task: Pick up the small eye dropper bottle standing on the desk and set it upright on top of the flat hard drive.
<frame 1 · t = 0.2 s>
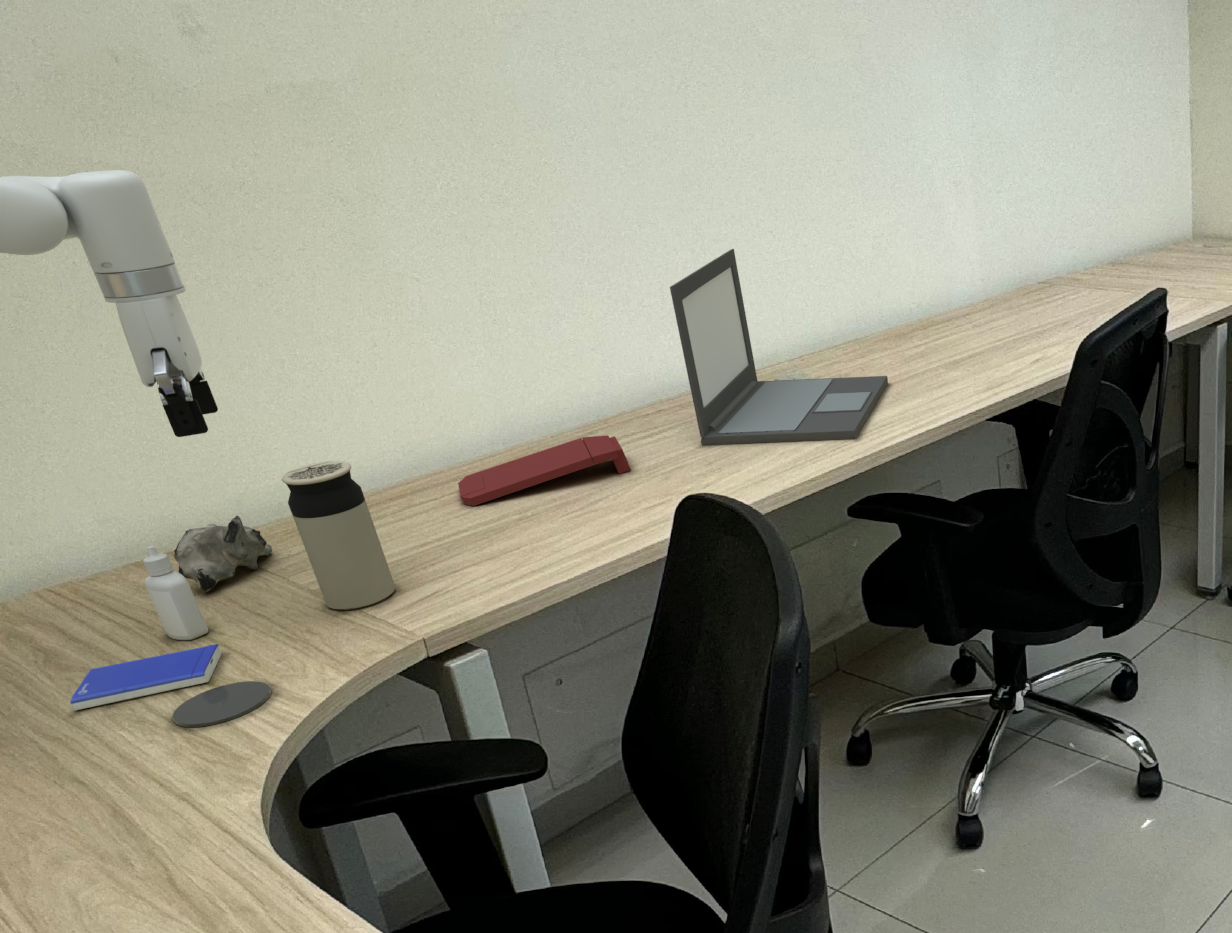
hand: (198, 423, 140), 25 cm above the table, tool pointing down, fingers open, 9 cm apart
eye dropper bottle: (188, 634, 144), on the table
travel mug: (362, 599, 152), on the table
decorative stone: (234, 574, 161), on the table
red hooked bar: (547, 481, 190), on the table
laptop: (801, 413, 219), on the table
slate coaster: (223, 705, 128), on the table
hard drive: (152, 682, 134), on the table
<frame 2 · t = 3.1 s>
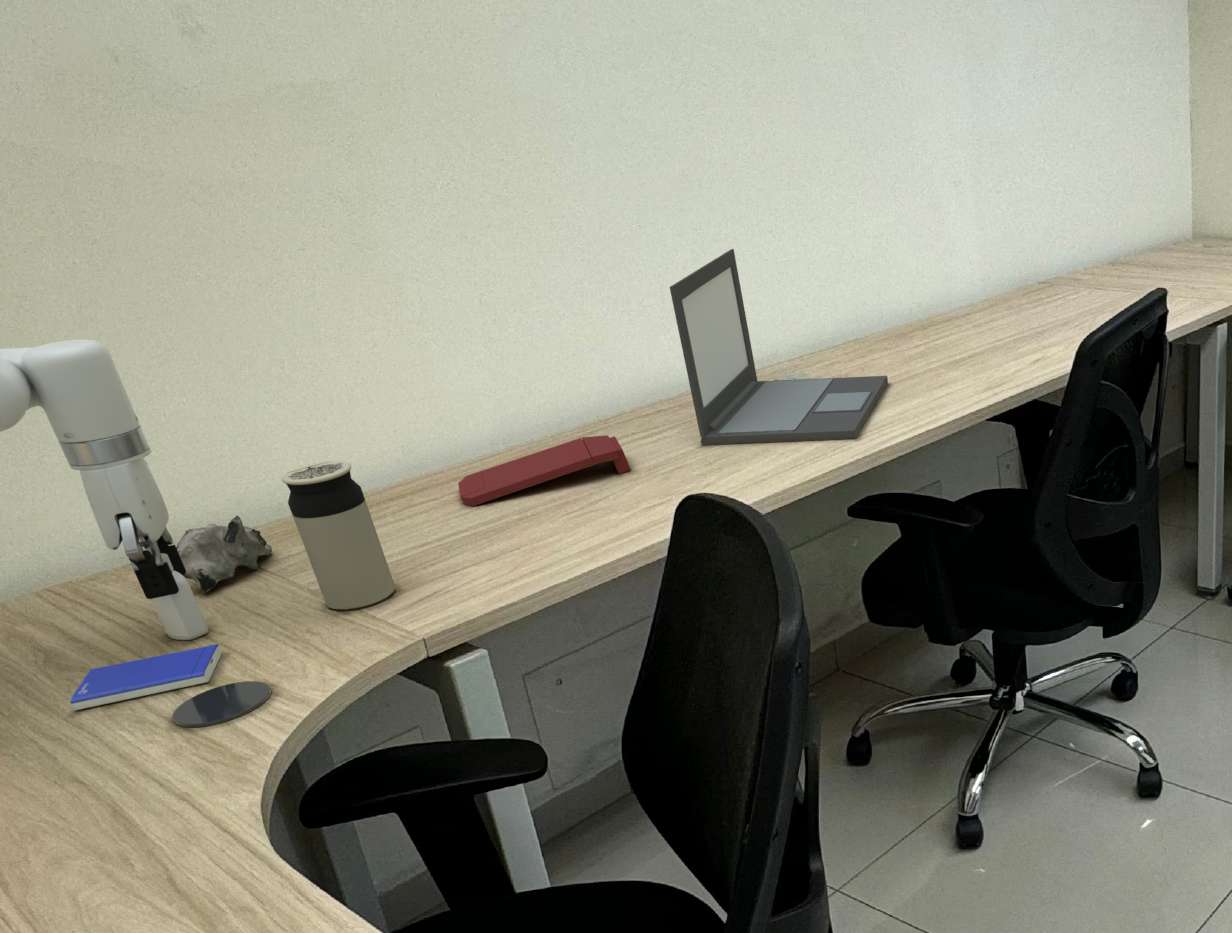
hand: (167, 584, 141), 7 cm above the table, tool pointing down, fingers closed on eye dropper bottle, 5 cm apart
eye dropper bottle: (189, 634, 144), on the table, touching gripper
everything else where it was.
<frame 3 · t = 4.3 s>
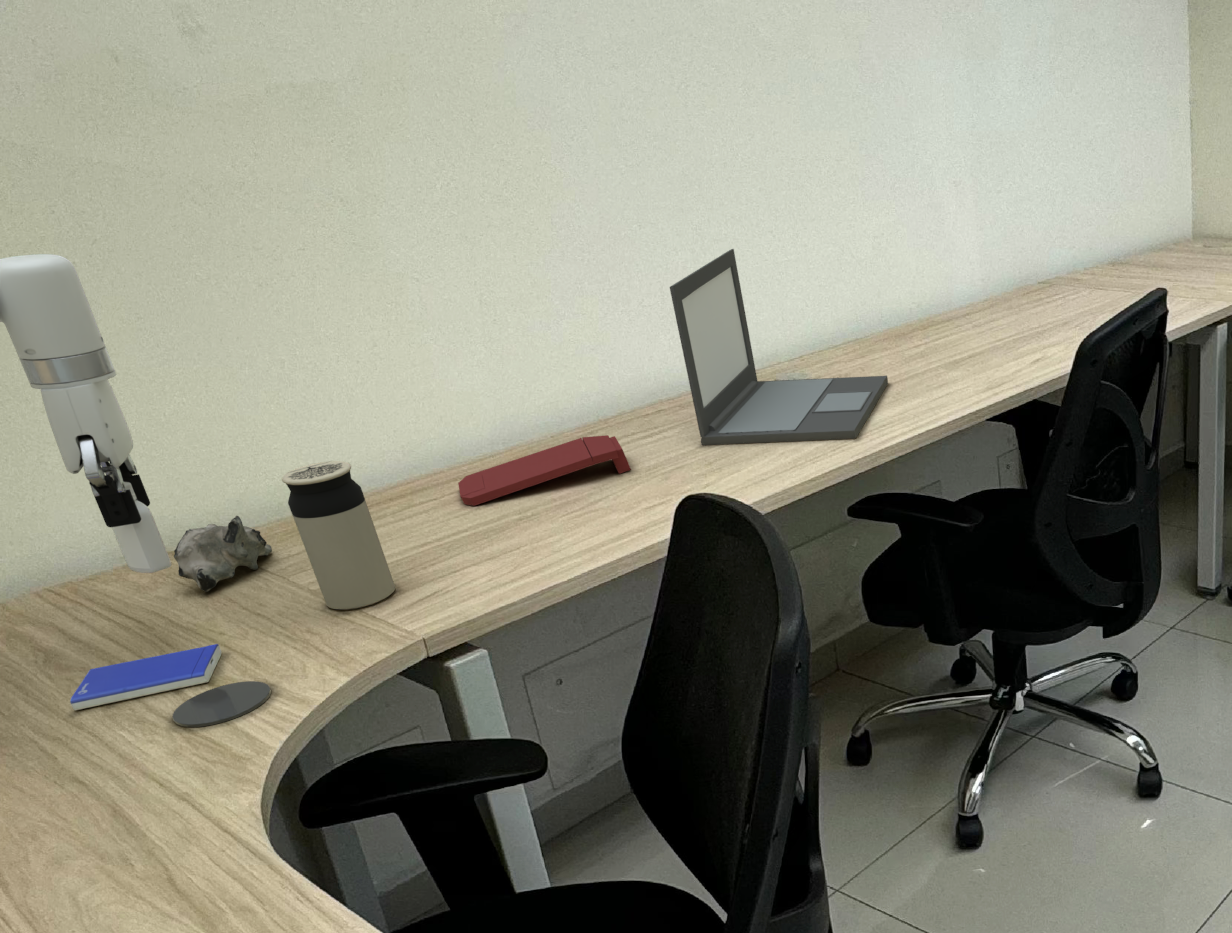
hand: (129, 514, 137), 16 cm above the table, tool pointing down, fingers closed on eye dropper bottle, 5 cm apart
eye dropper bottle: (151, 568, 140), point 9 cm above the table, touching gripper
everything else where it was.
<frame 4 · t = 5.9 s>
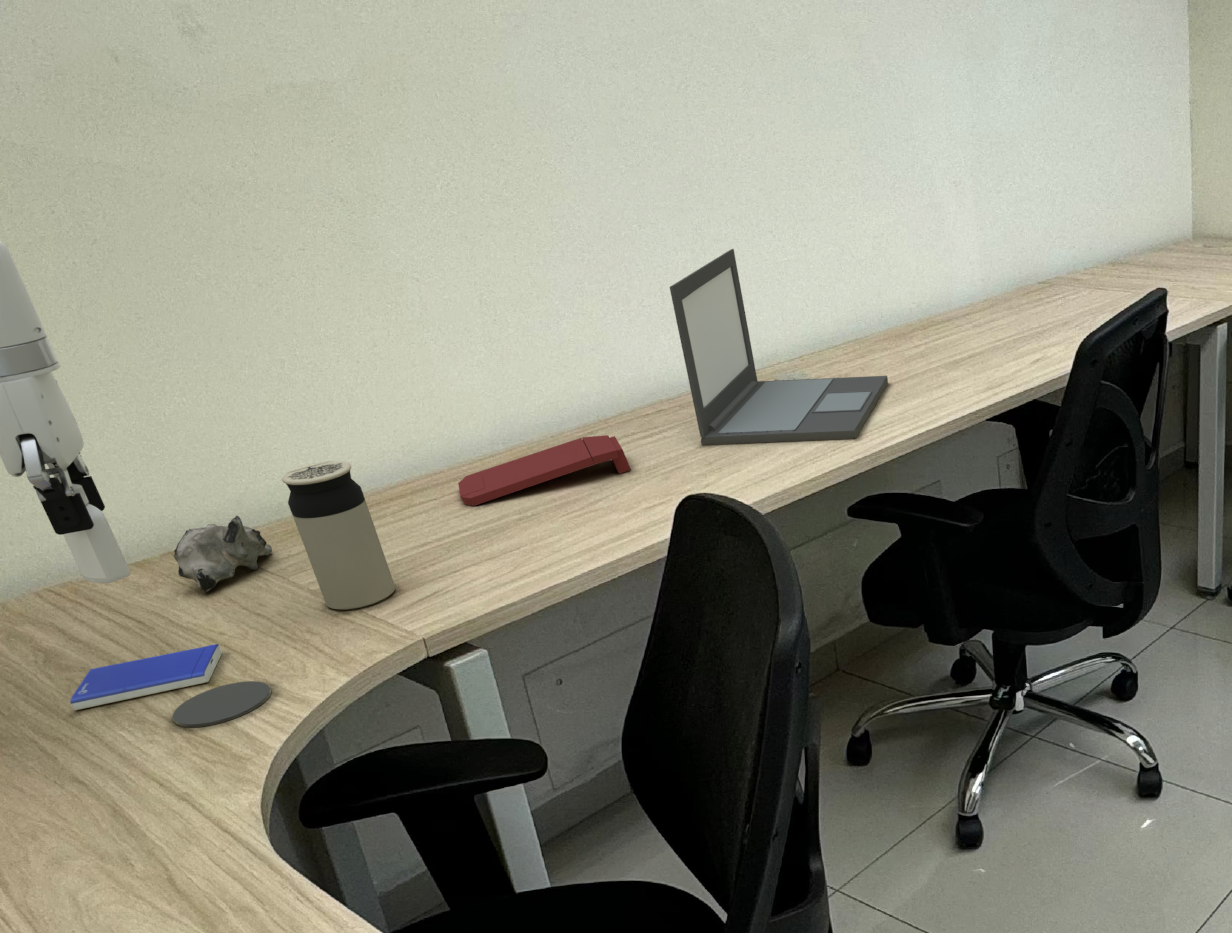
hand: (81, 520, 125), 20 cm above the table, tool pointing down, fingers closed on eye dropper bottle, 5 cm apart
eye dropper bottle: (108, 578, 129), point 13 cm above the table, touching gripper
everything else where it was.
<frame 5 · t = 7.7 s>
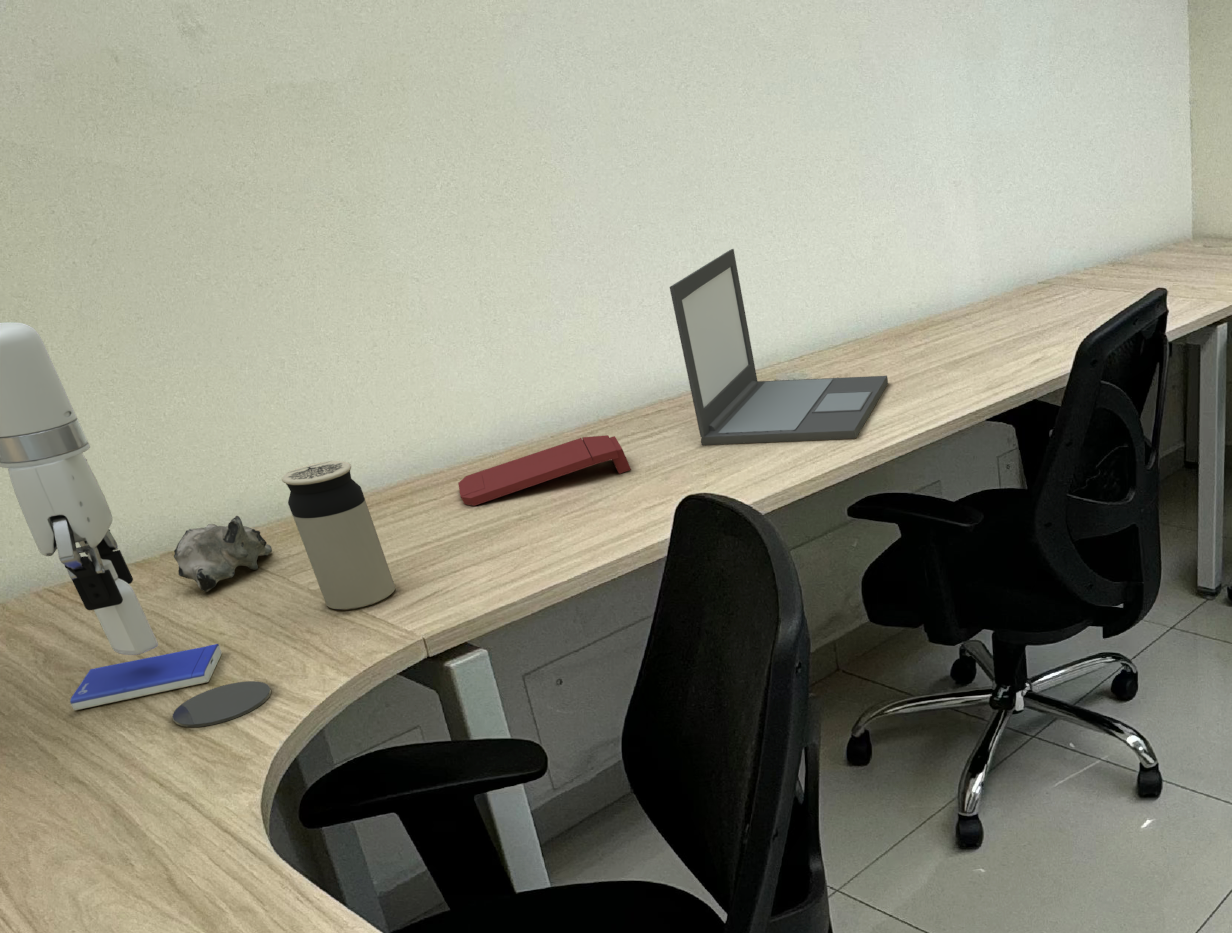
hand: (110, 594, 128), 12 cm above the table, tool pointing down, fingers closed on eye dropper bottle, 5 cm apart
eye dropper bottle: (136, 649, 131), point 5 cm above the table, touching gripper
everything else where it was.
when the fingers open (8 cm above the table, at t = 9.0 s): eye dropper bottle stays where it is, resting on hard drive.
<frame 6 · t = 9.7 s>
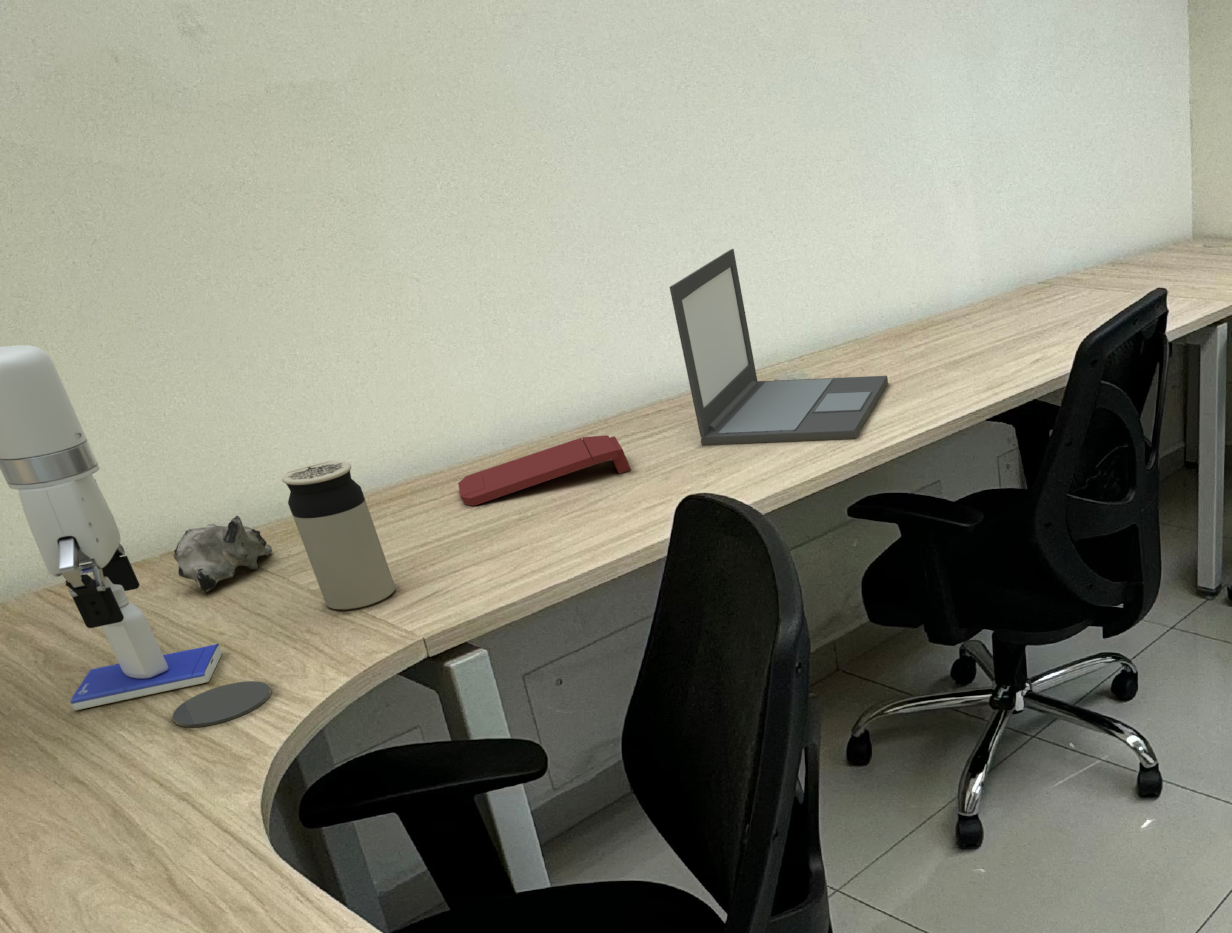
hand: (115, 606, 129), 10 cm above the table, tool pointing down, fingers open, 9 cm apart
eye dropper bottle: (147, 672, 133), point 1 cm above the table, touching hard drive
hard drive: (152, 682, 134), on the table, touching eye dropper bottle
everything else where it was.
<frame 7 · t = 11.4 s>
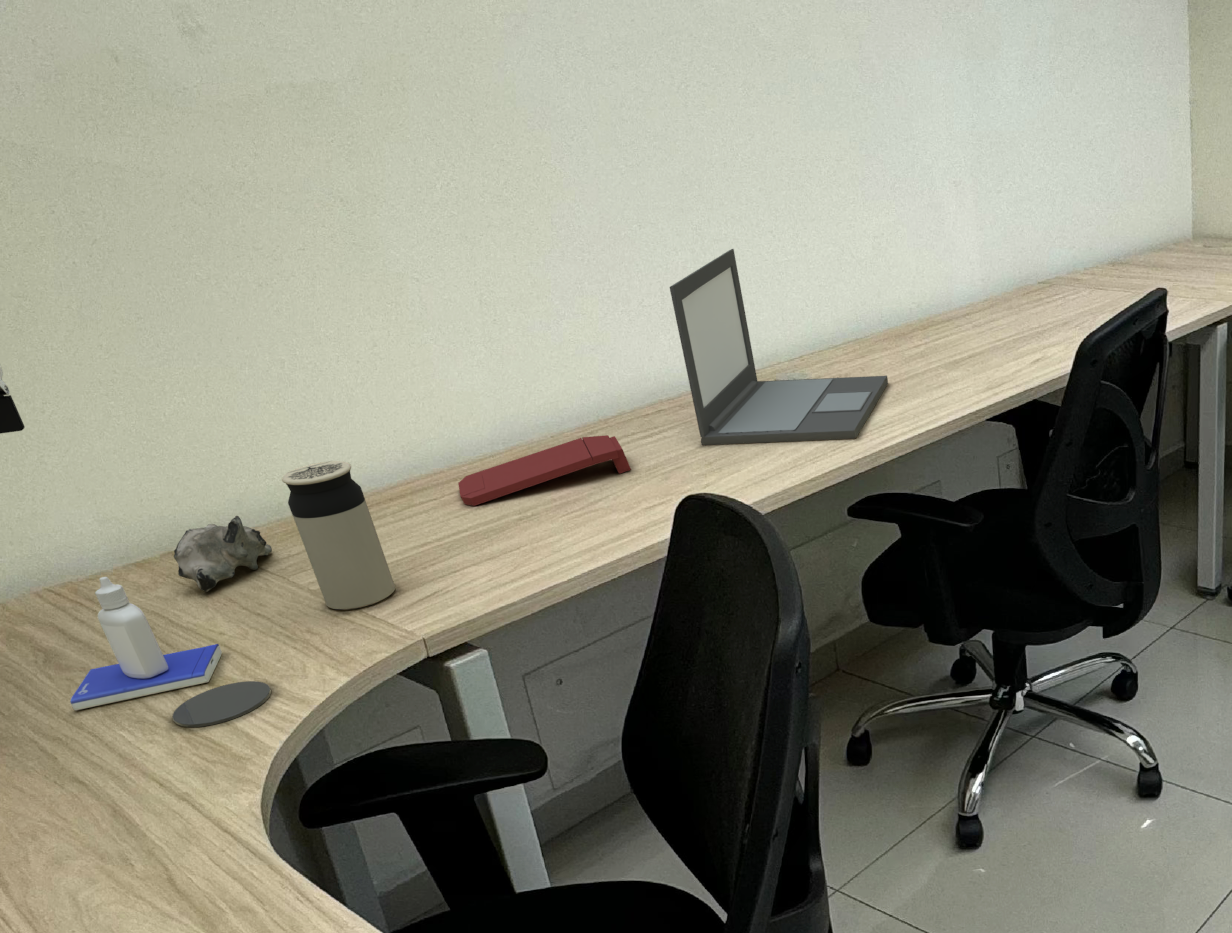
nothing on the table moved.
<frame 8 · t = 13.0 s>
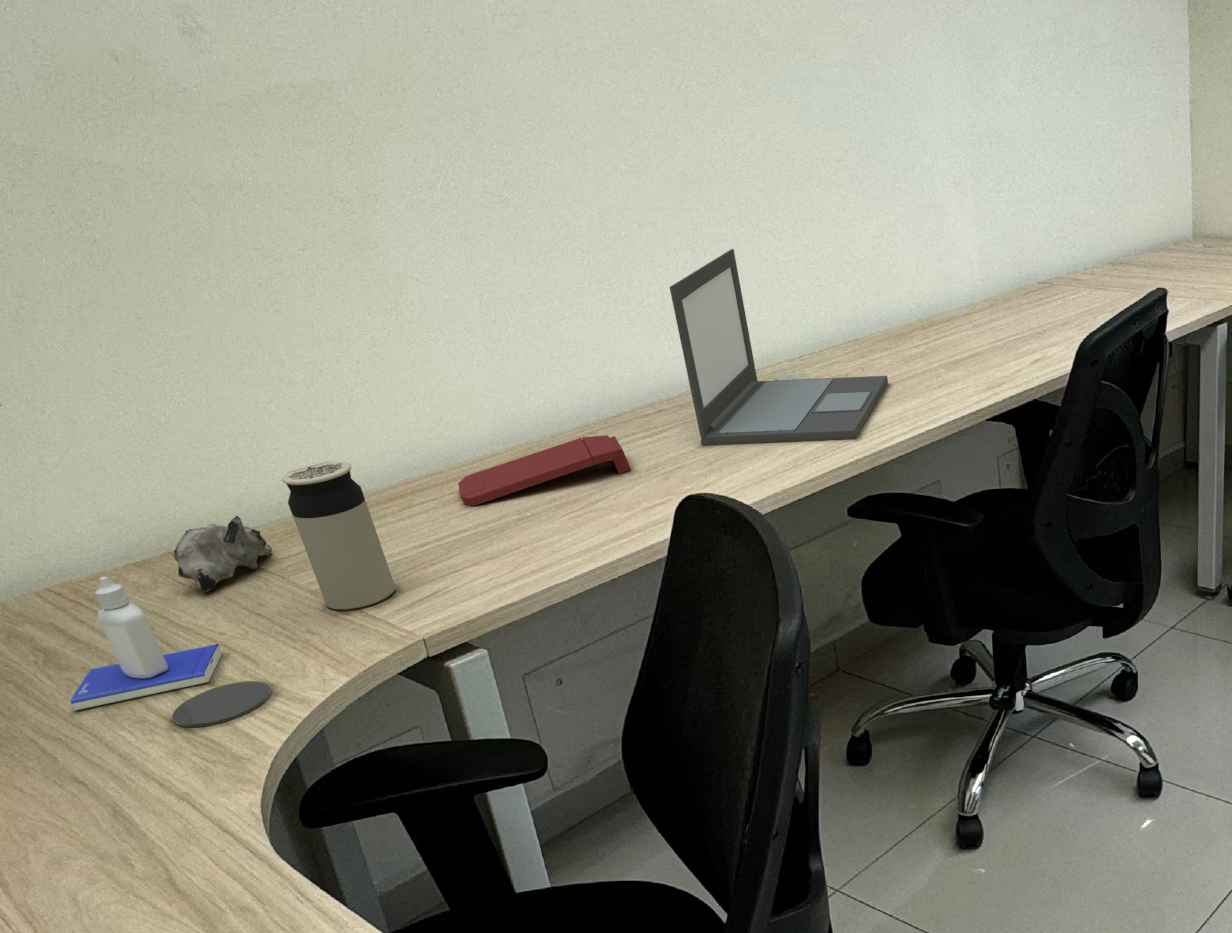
nothing on the table moved.
at the end: eye dropper bottle inside the target area on the hard drive (0.4 cm from its centre), point 1.6 cm above the hard drive's base; eye dropper bottle tilted 0°; the gripper is holding nothing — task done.
